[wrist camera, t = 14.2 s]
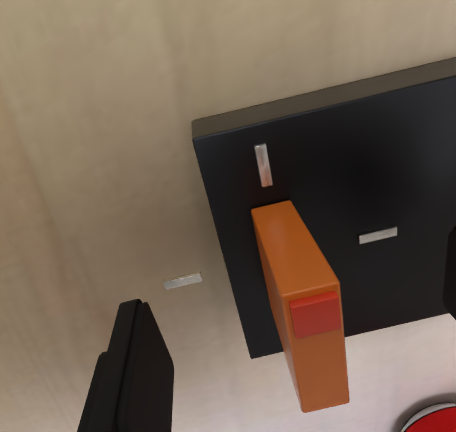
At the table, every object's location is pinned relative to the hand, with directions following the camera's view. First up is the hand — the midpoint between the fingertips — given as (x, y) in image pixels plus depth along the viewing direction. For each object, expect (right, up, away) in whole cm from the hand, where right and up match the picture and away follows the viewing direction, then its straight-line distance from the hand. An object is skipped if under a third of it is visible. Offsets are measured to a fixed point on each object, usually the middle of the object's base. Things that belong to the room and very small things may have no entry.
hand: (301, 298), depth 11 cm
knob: (0, +1, +2) cm, 2 cm away
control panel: (+2, +3, +4) cm, 6 cm away
